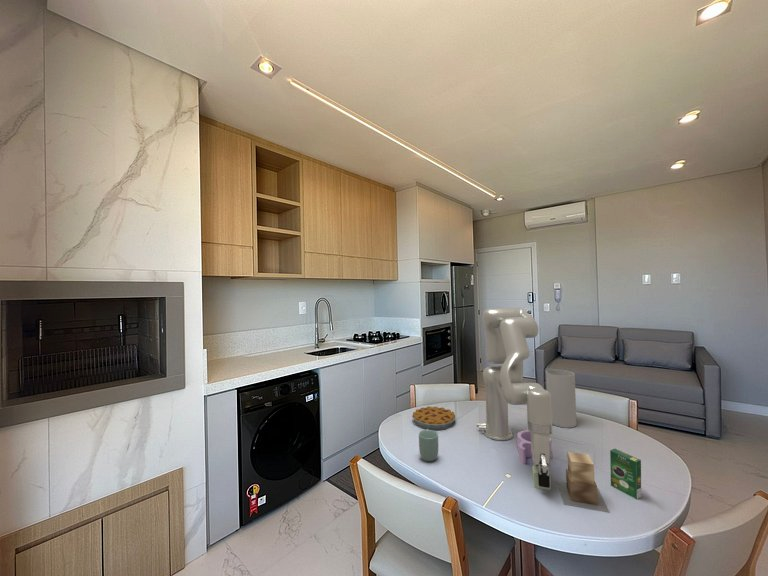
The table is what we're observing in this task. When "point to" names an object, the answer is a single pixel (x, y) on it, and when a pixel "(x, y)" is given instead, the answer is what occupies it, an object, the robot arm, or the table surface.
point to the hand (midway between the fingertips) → (542, 478)
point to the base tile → (567, 501)
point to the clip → (526, 445)
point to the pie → (433, 418)
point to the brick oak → (580, 468)
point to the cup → (428, 445)
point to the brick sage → (535, 477)
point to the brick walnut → (581, 491)
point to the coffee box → (625, 473)
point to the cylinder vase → (562, 397)
